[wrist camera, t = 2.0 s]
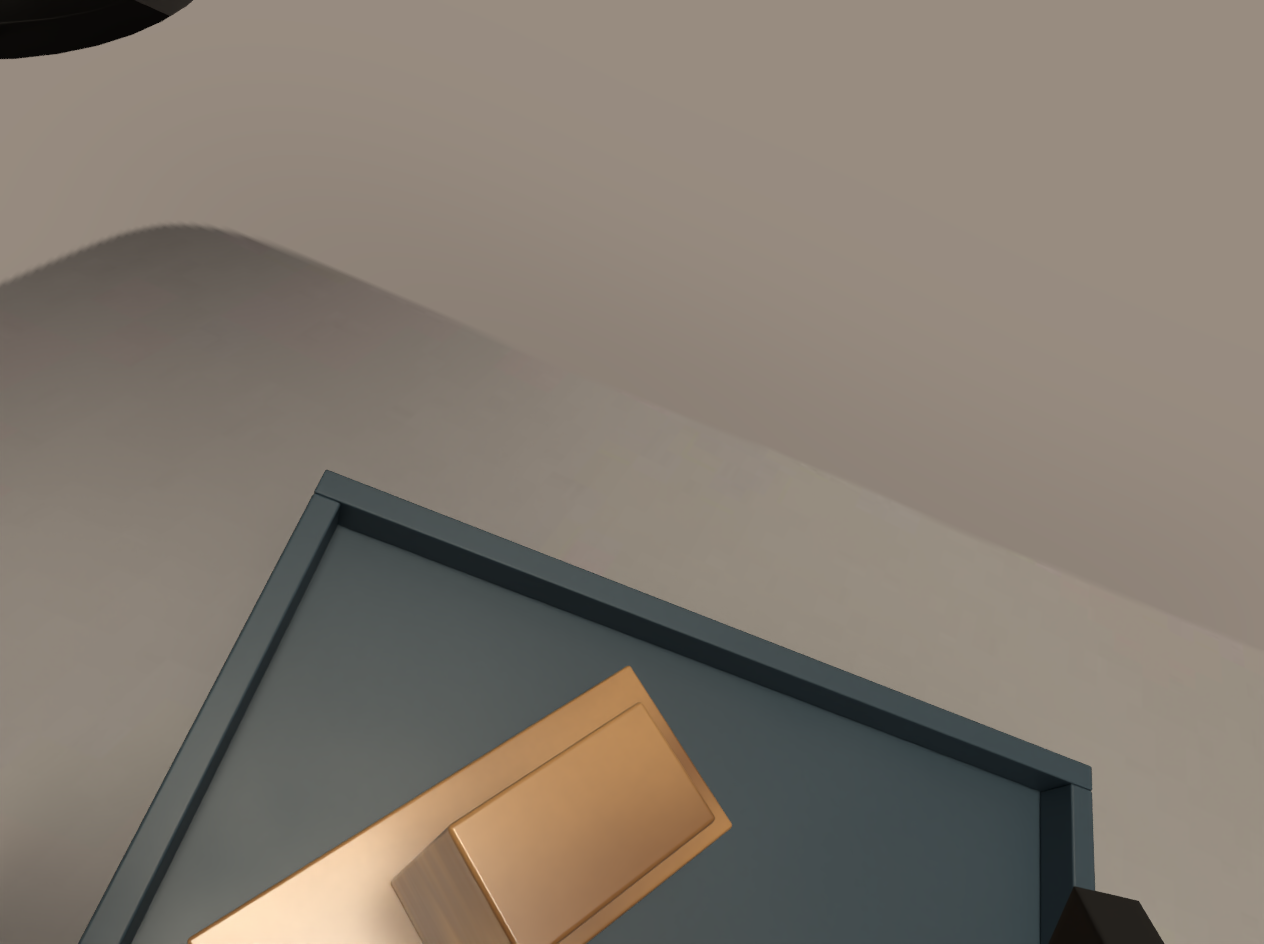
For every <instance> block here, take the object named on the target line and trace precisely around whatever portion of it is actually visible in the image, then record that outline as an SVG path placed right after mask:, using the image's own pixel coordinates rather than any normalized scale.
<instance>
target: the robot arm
mask: <svg viewBox="0 0 1264 944" xmlns="http://www.w3.org/2000/svg"><path fill="white" fill-rule="evenodd" d="M1048 944H1164V942H1163V941H1162V939H1161V937H1160V936H1159V934H1158V932H1157V931H1156V929H1155V927H1154V926H1153V924H1152V922H1151V921H1150V919H1149V917H1148V916H1147V914H1146V912H1145V911H1144V909H1143V907H1142V906H1141V904H1140V902H1139V901H1136V900H1132V899H1128V898H1123V897H1119V896H1115V895H1111V894H1106V893H1102V892H1098V891H1093V890H1089V889H1085V888H1081V887H1076V886H1074V887H1073V889H1072V891H1071V894H1070V896H1069V898H1068V900H1067V903H1066V905H1065V907H1064V909H1063V912H1062V914H1061V916H1060V918H1059V921H1058V923H1057V925H1056V927H1055V930H1054V932H1053V934H1052V936H1051V939H1050V941H1049V943H1048Z"/></svg>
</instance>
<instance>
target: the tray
mask: <svg viewBox="0 0 1264 944" xmlns="http://www.w3.org/2000/svg"><path fill="white" fill-rule="evenodd" d="M626 666H630V667H631V668H632V669H633V671H634V673H635V674H636V676H637V677H638V679H639V680H640V682H641V683H642V685H643V687H644V688H645V690H646V691H647V693H648V694H649V696H650V697H651V699H652V701H653V702H654V704H655V705H656V707H657V708H658V710H659V711H660V713H661V715H662V716H663V718H664V719H665V721H666V722H667V724H668V725H669V727H670V729H671V730H672V732H673V733H674V735H675V736H676V738H677V739H678V741H679V743H680V744H681V746H682V747H683V749H684V750H685V752H686V753H687V755H688V756H689V758H690V760H691V761H692V763H693V764H694V766H695V767H696V769H697V770H698V772H699V774H700V775H701V777H702V778H703V780H704V781H705V783H706V784H707V786H708V788H709V789H710V791H711V792H712V794H713V795H714V797H715V798H716V800H717V802H718V803H719V805H720V806H721V808H722V809H723V811H724V812H725V814H726V816H727V817H728V819H729V820H730V822H731V823H732V827H731V829H730V830H728V831H727V832H726V833H725V834H723V835H722V836H721V837H720V838H718V839H717V840H716V841H715V842H713V843H712V844H711V845H710V846H708V847H707V848H706V849H705V850H703V851H702V852H701V853H700V854H698V855H697V856H696V857H695V858H693V859H692V860H691V861H689V862H688V863H687V864H686V865H684V866H683V867H682V868H681V869H679V870H678V871H677V872H676V873H674V874H673V875H672V876H671V877H669V878H668V879H667V880H666V881H664V882H663V883H662V884H661V885H659V886H658V887H657V888H656V889H654V890H653V891H652V892H651V893H649V894H648V895H647V896H646V897H644V898H643V899H642V900H641V901H639V902H638V903H637V904H636V905H634V906H633V907H632V908H631V909H629V910H628V911H627V912H625V913H624V914H623V915H622V916H620V917H619V918H618V919H617V920H615V921H614V922H613V923H612V924H610V925H609V926H608V927H607V928H605V929H604V930H603V931H602V932H600V933H599V934H598V935H597V936H595V937H594V938H593V939H592V940H590V941H589V942H588V943H587V944H1048V943H1049V941H1050V939H1051V936H1052V934H1053V932H1054V930H1055V927H1056V925H1057V923H1058V921H1059V918H1060V916H1061V914H1062V912H1063V909H1064V907H1065V905H1066V903H1067V900H1068V898H1069V896H1070V894H1071V891H1072V889H1073V887H1074V886H1076V887H1081V888H1085V889H1089V890H1093V891H1095V873H1094V842H1093V812H1092V792H1091V790H1092V771H1091V767H1090V766H1088V765H1085V764H1083V763H1080V762H1078V761H1075V760H1073V759H1070V758H1067V757H1065V756H1062V755H1060V754H1057V753H1055V752H1052V751H1049V750H1047V749H1044V748H1042V747H1039V746H1037V745H1034V744H1031V743H1029V742H1026V741H1024V740H1021V739H1019V738H1016V737H1013V736H1011V735H1008V734H1006V733H1003V732H1001V731H998V730H995V729H993V728H990V727H988V726H985V725H983V724H980V723H977V722H975V721H972V720H970V719H967V718H964V717H962V716H959V715H957V714H954V713H952V712H949V711H946V710H944V709H941V708H939V707H936V706H934V705H931V704H928V703H926V702H923V701H921V700H918V699H916V698H913V697H910V696H908V695H905V694H903V693H900V692H898V691H895V690H892V689H890V688H887V687H885V686H882V685H880V684H877V683H874V682H872V681H869V680H867V679H864V678H862V677H859V676H856V675H854V674H851V673H849V672H846V671H844V670H841V669H838V668H836V667H833V666H831V665H828V664H826V663H823V662H820V661H818V660H815V659H813V658H810V657H808V656H805V655H802V654H800V653H797V652H795V651H792V650H790V649H787V648H784V647H782V646H779V645H777V644H774V643H772V642H769V641H766V640H764V639H761V638H759V637H756V636H754V635H751V634H748V633H746V632H743V631H741V630H738V629H736V628H733V627H730V626H728V625H725V624H723V623H720V622H718V621H715V620H712V619H710V618H707V617H705V616H702V615H699V614H697V613H694V612H692V611H689V610H687V609H684V608H681V607H679V606H676V605H674V604H671V603H669V602H666V601H663V600H661V599H658V598H656V597H653V596H651V595H648V594H645V593H643V592H640V591H638V590H635V589H633V588H630V587H627V586H625V585H622V584H620V583H617V582H615V581H612V580H609V579H607V578H604V577H602V576H599V575H597V574H594V573H591V572H589V571H586V570H584V569H581V568H579V567H576V566H573V565H571V564H568V563H566V562H563V561H561V560H558V559H555V558H553V557H550V556H548V555H545V554H543V553H540V552H537V551H535V550H532V549H530V548H527V547H525V546H522V545H519V544H517V543H514V542H512V541H509V540H507V539H504V538H501V537H499V536H496V535H494V534H491V533H489V532H486V531H483V530H481V529H478V528H476V527H473V526H471V525H468V524H465V523H463V522H460V521H458V520H455V519H453V518H450V517H447V516H445V515H442V514H440V513H437V512H434V511H432V510H429V509H427V508H424V507H422V506H419V505H416V504H414V503H411V502H409V501H406V500H404V499H401V498H398V497H396V496H393V495H391V494H388V493H386V492H383V491H380V490H378V489H375V488H373V487H370V486H368V485H365V484H362V483H360V482H357V481H355V480H352V479H350V478H347V477H344V476H342V475H339V474H337V473H334V472H332V471H329V470H326V471H325V472H324V474H323V476H322V478H321V480H320V482H319V484H318V485H317V487H316V489H315V492H314V494H313V495H312V497H311V499H310V501H309V503H308V505H307V507H306V509H305V511H304V513H303V514H302V516H301V518H300V520H299V522H298V524H297V526H296V528H295V530H294V532H293V534H292V535H291V537H290V539H289V541H288V543H287V545H286V547H285V549H284V551H283V553H282V555H281V556H280V558H279V560H278V562H277V564H276V566H275V568H274V570H273V572H272V574H271V576H270V578H269V579H268V581H267V583H266V585H265V587H264V589H263V591H262V593H261V595H260V597H259V599H258V600H257V602H256V604H255V606H254V608H253V610H252V612H251V614H250V616H249V618H248V620H247V621H246V623H245V625H244V627H243V629H242V631H241V633H240V635H239V637H238V639H237V641H236V643H235V644H234V646H233V648H232V650H231V652H230V654H229V656H228V658H227V660H226V662H225V664H224V665H223V667H222V669H221V671H220V673H219V675H218V677H217V679H216V681H215V683H214V685H213V686H212V688H211V690H210V692H209V694H208V696H207V698H206V700H205V702H204V704H203V706H202V708H201V709H200V711H199V713H198V715H197V717H196V719H195V721H194V723H193V725H192V727H191V729H190V730H189V732H188V734H187V736H186V738H185V740H184V742H183V744H182V746H181V748H180V750H179V751H178V753H177V755H176V757H175V759H174V761H173V763H172V765H171V767H170V769H169V771H168V773H167V774H166V776H165V778H164V780H163V782H162V784H161V786H160V788H159V790H158V792H157V794H156V795H155V797H154V799H153V801H152V803H151V805H150V807H149V809H148V811H147V813H146V815H145V816H144V818H143V820H142V822H141V824H140V826H139V828H138V830H137V832H136V834H135V836H134V838H133V839H132V841H131V843H130V845H129V847H128V849H127V851H126V853H125V855H124V857H123V859H122V860H121V862H120V864H119V866H118V868H117V870H116V872H115V874H114V876H113V878H112V880H111V881H110V883H109V885H108V887H107V889H106V891H105V893H104V895H103V897H102V899H101V901H100V903H99V904H98V906H97V908H96V910H95V912H94V914H93V916H92V918H91V920H90V922H89V924H88V925H87V927H86V929H85V931H84V933H83V935H82V937H81V939H80V941H79V943H78V944H187V940H188V939H189V938H190V937H191V936H193V935H194V934H196V933H197V932H199V931H201V930H202V929H204V928H206V927H207V926H209V925H210V924H212V923H214V922H215V921H217V920H218V919H220V918H222V917H223V916H225V915H226V914H228V913H230V912H231V911H233V910H235V909H236V908H238V907H239V906H241V905H243V904H244V903H246V902H247V901H249V900H251V899H252V898H254V897H255V896H257V895H259V894H260V893H262V892H264V891H265V890H267V889H268V888H270V887H272V886H273V885H275V884H276V883H278V882H280V881H281V880H283V879H284V878H286V877H288V876H289V875H291V874H292V873H294V872H296V871H297V870H299V869H301V868H302V867H304V866H305V865H307V864H309V863H310V862H312V861H313V860H315V859H317V858H318V857H320V856H321V855H323V854H325V853H326V852H328V851H330V850H331V849H333V848H334V847H336V846H338V845H339V844H341V843H342V842H344V841H346V840H347V839H349V838H350V837H352V836H354V835H355V834H357V833H359V832H360V831H362V830H363V829H365V828H367V827H368V826H370V825H371V824H373V823H375V822H376V821H378V820H379V819H381V818H383V817H384V816H386V815H388V814H389V813H391V812H392V811H394V810H396V809H397V808H399V807H400V806H402V805H404V804H405V803H407V802H408V801H410V800H412V799H413V798H415V797H416V796H418V795H420V794H421V793H423V792H425V791H426V790H428V789H429V788H431V787H433V786H434V785H436V784H437V783H439V782H441V781H442V780H444V779H445V778H447V777H449V776H450V775H452V774H454V773H455V772H457V771H458V770H460V769H462V768H463V767H465V766H466V765H468V764H470V763H471V762H473V761H474V760H476V759H478V758H479V757H481V756H483V755H484V754H486V753H487V752H489V751H491V750H492V749H494V748H495V747H497V746H499V745H500V744H502V743H503V742H505V741H507V740H508V739H510V738H512V737H513V736H515V735H516V734H518V733H520V732H521V731H523V730H524V729H526V728H528V727H529V726H531V725H532V724H534V723H536V722H537V721H539V720H540V719H542V718H544V717H545V716H547V715H549V714H550V713H552V712H553V711H555V710H557V709H558V708H560V707H561V706H563V705H565V704H566V703H568V702H569V701H571V700H573V699H574V698H576V697H578V696H579V695H581V694H582V693H584V692H586V691H587V690H589V689H590V688H592V687H594V686H595V685H597V684H598V683H600V682H602V681H603V680H605V679H607V678H608V677H610V676H611V675H613V674H615V673H616V672H618V671H619V670H621V669H623V668H624V667H626Z"/></svg>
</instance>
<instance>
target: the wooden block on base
mask: <svg viewBox="0 0 1264 944" xmlns="http://www.w3.org/2000/svg"><path fill="white" fill-rule="evenodd" d="M731 827H732V823H731V822H730V820H729V819H728V817H727V816H726V814H725V812H724V811H723V809H722V808H721V806H720V805H719V803H718V802H717V800H716V798H715V797H714V795H713V794H712V792H711V791H710V789H709V788H708V786H707V784H706V783H705V781H704V780H703V778H702V777H701V775H700V774H699V772H698V770H697V769H696V767H695V766H694V764H693V763H692V761H691V760H690V758H689V756H688V755H687V753H686V752H685V750H684V749H683V747H682V746H681V744H680V743H679V741H678V739H677V738H676V736H675V735H674V733H673V732H672V730H671V729H670V727H669V725H668V724H667V722H666V721H665V719H664V718H663V716H662V715H661V713H660V711H659V710H658V708H657V707H656V705H655V704H654V702H653V701H652V699H651V697H650V696H649V694H648V693H647V691H646V690H645V688H644V687H643V685H642V683H641V682H640V680H639V679H638V677H637V676H636V674H635V673H634V671H633V669H632V668H631V667H630V666H626V667H624V668H623V669H621V670H619V671H618V672H616V673H615V674H613V675H611V676H610V677H608V678H607V679H605V680H603V681H602V682H600V683H598V684H597V685H595V686H594V687H592V688H590V689H589V690H587V691H586V692H584V693H582V694H581V695H579V696H578V697H576V698H574V699H573V700H571V701H569V702H568V703H566V704H565V705H563V706H561V707H560V708H558V709H557V710H555V711H553V712H552V713H550V714H549V715H547V716H545V717H544V718H542V719H540V720H539V721H537V722H536V723H534V724H532V725H531V726H529V727H528V728H526V729H524V730H523V731H521V732H520V733H518V734H516V735H515V736H513V737H512V738H510V739H508V740H507V741H505V742H503V743H502V744H500V745H499V746H497V747H495V748H494V749H492V750H491V751H489V752H487V753H486V754H484V755H483V756H481V757H479V758H478V759H476V760H474V761H473V762H471V763H470V764H468V765H466V766H465V767H463V768H462V769H460V770H458V771H457V772H455V773H454V774H452V775H450V776H449V777H447V778H445V779H444V780H442V781H441V782H439V783H437V784H436V785H434V786H433V787H431V788H429V789H428V790H426V791H425V792H423V793H421V794H420V795H418V796H416V797H415V798H413V799H412V800H410V801H408V802H407V803H405V804H404V805H402V806H400V807H399V808H397V809H396V810H394V811H392V812H391V813H389V814H388V815H386V816H384V817H383V818H381V819H379V820H378V821H376V822H375V823H373V824H371V825H370V826H368V827H367V828H365V829H363V830H362V831H360V832H359V833H357V834H355V835H354V836H352V837H350V838H349V839H347V840H346V841H344V842H342V843H341V844H339V845H338V846H336V847H334V848H333V849H331V850H330V851H328V852H326V853H325V854H323V855H321V856H320V857H318V858H317V859H315V860H313V861H312V862H310V863H309V864H307V865H305V866H304V867H302V868H301V869H299V870H297V871H296V872H294V873H292V874H291V875H289V876H288V877H286V878H284V879H283V880H281V881H280V882H278V883H276V884H275V885H273V886H272V887H270V888H268V889H267V890H265V891H264V892H262V893H260V894H259V895H257V896H255V897H254V898H252V899H251V900H249V901H247V902H246V903H244V904H243V905H241V906H239V907H238V908H236V909H235V910H233V911H231V912H230V913H228V914H226V915H225V916H223V917H222V918H220V919H218V920H217V921H215V922H214V923H212V924H210V925H209V926H207V927H206V928H204V929H202V930H201V931H199V932H197V933H196V934H194V935H193V936H191V937H190V938H189V939H188V940H187V944H587V943H588V942H589V941H590V940H592V939H593V938H594V937H595V936H597V935H598V934H599V933H600V932H602V931H603V930H604V929H605V928H607V927H608V926H609V925H610V924H612V923H613V922H614V921H615V920H617V919H618V918H619V917H620V916H622V915H623V914H624V913H625V912H627V911H628V910H629V909H631V908H632V907H633V906H634V905H636V904H637V903H638V902H639V901H641V900H642V899H643V898H644V897H646V896H647V895H648V894H649V893H651V892H652V891H653V890H654V889H656V888H657V887H658V886H659V885H661V884H662V883H663V882H664V881H666V880H667V879H668V878H669V877H671V876H672V875H673V874H674V873H676V872H677V871H678V870H679V869H681V868H682V867H683V866H684V865H686V864H687V863H688V862H689V861H691V860H692V859H693V858H695V857H696V856H697V855H698V854H700V853H701V852H702V851H703V850H705V849H706V848H707V847H708V846H710V845H711V844H712V843H713V842H715V841H716V840H717V839H718V838H720V837H721V836H722V835H723V834H725V833H726V832H727V831H728V830H730V829H731Z"/></svg>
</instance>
